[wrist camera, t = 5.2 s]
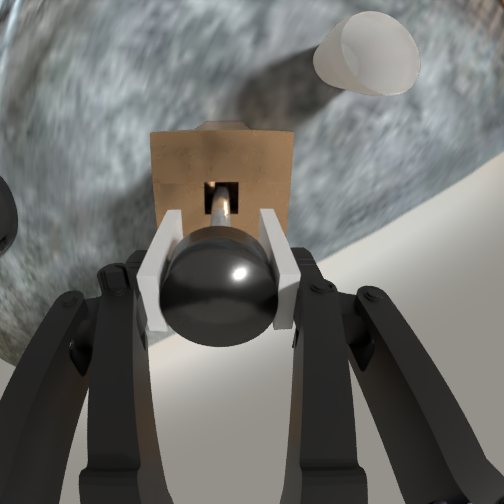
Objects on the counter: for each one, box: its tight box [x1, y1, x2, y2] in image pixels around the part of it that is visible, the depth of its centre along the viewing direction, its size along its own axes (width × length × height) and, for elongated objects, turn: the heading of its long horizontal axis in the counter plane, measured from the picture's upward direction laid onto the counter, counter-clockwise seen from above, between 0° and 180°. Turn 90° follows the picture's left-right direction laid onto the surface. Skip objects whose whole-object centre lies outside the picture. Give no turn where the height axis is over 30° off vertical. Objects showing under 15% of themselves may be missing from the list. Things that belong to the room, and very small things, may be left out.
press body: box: [150, 121, 294, 241], centre depth 28 cm, size 10×13×15 cm
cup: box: [313, 11, 420, 96], centre depth 23 cm, size 9×9×12 cm
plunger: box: [160, 182, 278, 347], centre depth 19 cm, size 8×8×20 cm
